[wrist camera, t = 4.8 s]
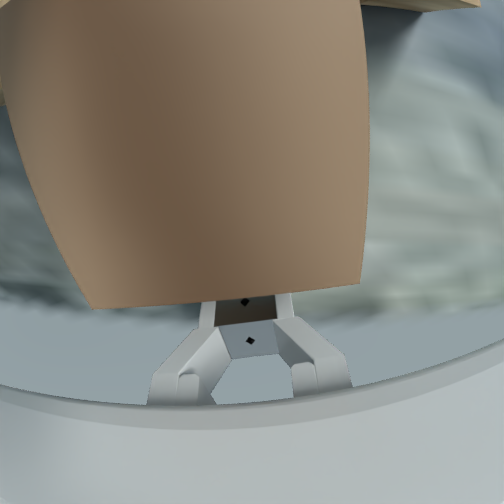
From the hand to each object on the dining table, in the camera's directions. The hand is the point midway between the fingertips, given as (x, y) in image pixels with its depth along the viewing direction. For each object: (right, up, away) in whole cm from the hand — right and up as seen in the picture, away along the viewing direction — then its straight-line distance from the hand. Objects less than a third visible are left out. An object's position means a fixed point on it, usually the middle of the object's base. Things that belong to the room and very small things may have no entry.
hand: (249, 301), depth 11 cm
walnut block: (-1, +6, -2) cm, 7 cm away
